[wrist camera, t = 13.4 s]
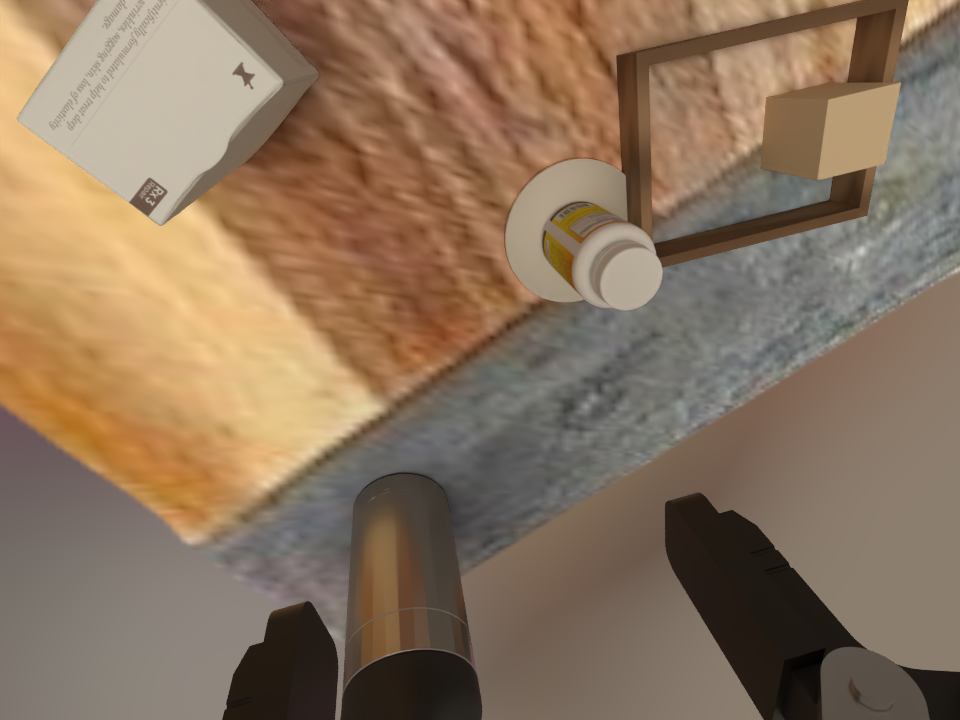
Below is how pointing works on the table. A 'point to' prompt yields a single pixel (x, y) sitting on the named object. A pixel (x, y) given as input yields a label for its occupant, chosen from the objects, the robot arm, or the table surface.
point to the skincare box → (167, 96)
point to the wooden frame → (869, 61)
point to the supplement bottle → (602, 256)
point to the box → (828, 129)
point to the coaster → (538, 205)
